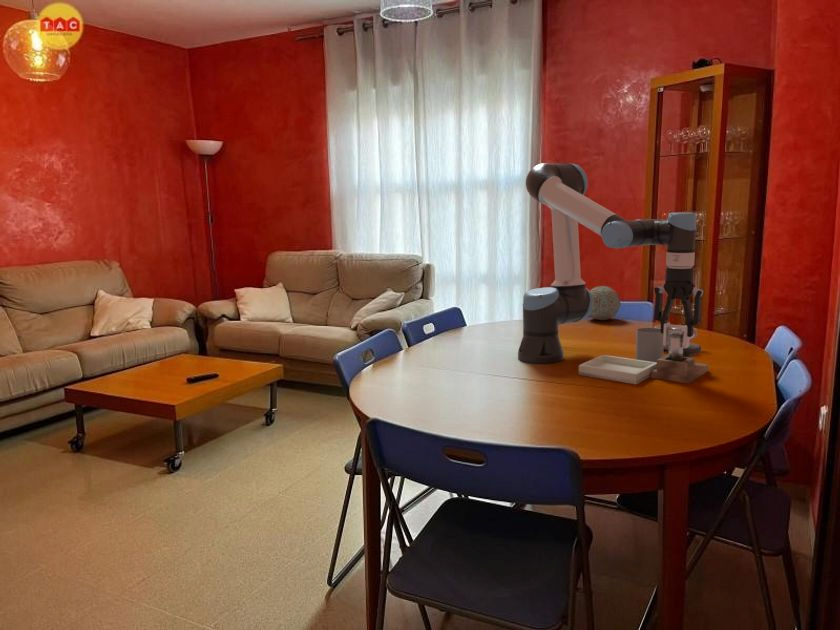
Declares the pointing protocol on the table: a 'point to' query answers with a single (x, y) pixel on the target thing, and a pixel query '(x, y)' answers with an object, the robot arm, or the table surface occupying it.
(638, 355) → the cup
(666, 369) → the block
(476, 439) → the table surface
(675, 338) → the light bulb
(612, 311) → the decorative sphere
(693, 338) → the teacup
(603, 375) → the tray
